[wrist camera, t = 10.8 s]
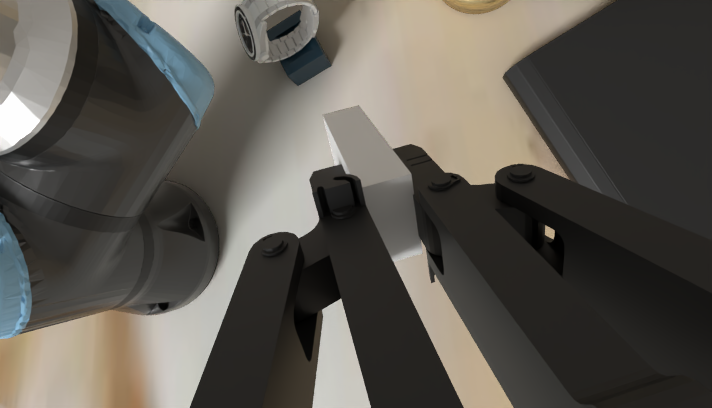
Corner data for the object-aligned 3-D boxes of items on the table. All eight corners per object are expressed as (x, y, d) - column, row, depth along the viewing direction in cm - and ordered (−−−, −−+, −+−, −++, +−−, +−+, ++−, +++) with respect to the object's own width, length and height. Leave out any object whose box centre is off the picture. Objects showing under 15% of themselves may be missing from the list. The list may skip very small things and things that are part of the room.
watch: (262, 53, 48) (209, 4, 37) (323, 15, 47) (286, -48, 36) (283, 95, 47) (235, 57, 36) (345, 57, 46) (315, 6, 35)
